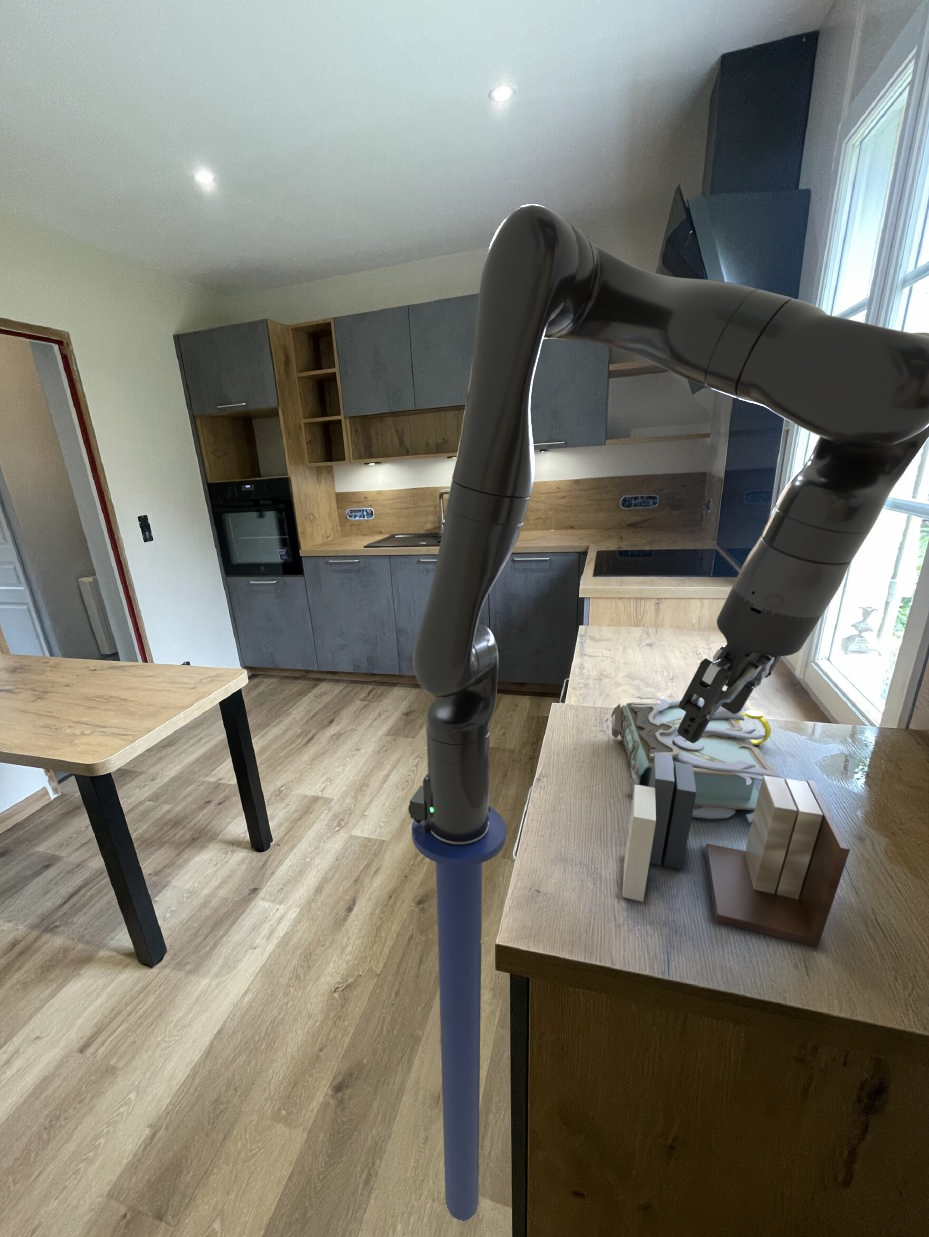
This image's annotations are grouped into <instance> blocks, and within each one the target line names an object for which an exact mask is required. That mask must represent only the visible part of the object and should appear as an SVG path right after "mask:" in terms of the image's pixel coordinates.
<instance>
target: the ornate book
mask: <svg viewBox="0 0 929 1237" xmlns="http://www.w3.org/2000/svg"><path fill="white" fill-rule="evenodd" d="M648 699H649V700H651V699H654V700H658V701H660V703H659V702H658V703H657V702H641V701H640V702H639V701H630V702H627V703H626V704H623V705H621V703H618V705H616V706H615V707H614V708H613V710H612V713H611V719H610V723H611V735H612V736H613V737H614V739H617V738H618V737H620V739H621V741H622V742H623V745H624V747H625V748H624V749H625V751H626V755H627V758H628V767H629V770H630V774H631V778H630V780H629V786H630V787H631V798H633V793H634V786H635V785H641V786H647V787H650V780H651V773H652V767H653V760H654V753H655V752H657V753H664V754H671V755H672V758H673V768H674V762H679V763H686V764H692V766H693V773H694V779H695V786H696V798H695V803H694V809H693V814H692V818H699V819H708V820H710V819H711V820H714V819H728V818H730V817H732V816H733V815H735V814H736V811H737V810H744V811H745V810H746V811H751V813H748V814H745V819H746V821H747V823H748V824H752V820H753V816H754V812H755V808H756V803H757V799H758V795H759V791H760V789H759V788H758V786H757V785H756V783H755V780H758V781H761V782H762V778H763V776H770V777H777V778H783V779H784V781H785V779H786V778H784V777H782V776H781V775H780V774H779V773H777V771H776V770H775V769H774V768H773V767H772V766H771V765H770V764H769V762H767V760H766V758H765V757H764V755H763V754H762V752H761V750H760V748H758V747H756V746H755V744H753V742H752V741H751V740H756V741H758V740H762V739H763V738H764V737H766V736H767V735H765V734H755V731H757V728H753V729H745V730H743V726H742V725H741V724H740V723H739V724H738V723H737V722H736V720H740V721H745V717H744V716H742V714H741V712H738V713H737V714H733V713H731V712H729V711H728V710H726V709H724V708H723V707H721V706H720V707H719V709H718V710H717V711H716V712H715V715H714V716H713V717H712V718H711V720H710V722H709V723H708V725H707V727H706V729H705V731H704V732H703V734H702V736H701V738H700V740H698V741H697V742H696V743H691V742H689V741H688V740H686V739H685V738H683V737H682V736H680V735H679V734H678V732H677V729H678V727H679V725H680V723H681V721H682V719H683V717H684V715H685V713H686V712H685V711H684V710H682V709H680V708H679V707H678V706H679V703H680V701H681V700H682V699H680V700H670V701H668V700H667V699H665V698H660V697H653V696H651V697H642V698H640V700H648ZM699 700H700V701H702V702H704V700H703V699H702V698H700V699H699ZM750 739H751V740H750Z"/></svg>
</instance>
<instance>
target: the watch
mask: <svg viewBox="0 0 929 1237" xmlns="http://www.w3.org/2000/svg"><path fill="white" fill-rule="evenodd" d="M741 715H742V716H743V717H747V719H751V720H758V721H759V722H760V723H761V724H762V726H763V728H764V735H767V736H766V737H764V738H762V739H760V740H751V739H750V740H751V741H752V742H753V744H754V746H758V745H761V744H763V743H765V742H766V741H768V740H769V738H770V736H771V730H772V728H771V725H770V723H769V721H768V720H767V719H766V718H765V717H764V713H763V712H761V711H758V710H753V709H749V710H748V709H747V710H746V711H745V712H744V713H742V714H741ZM736 722H737V723H738V724H739V725H740V722H741V720H736Z"/></svg>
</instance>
